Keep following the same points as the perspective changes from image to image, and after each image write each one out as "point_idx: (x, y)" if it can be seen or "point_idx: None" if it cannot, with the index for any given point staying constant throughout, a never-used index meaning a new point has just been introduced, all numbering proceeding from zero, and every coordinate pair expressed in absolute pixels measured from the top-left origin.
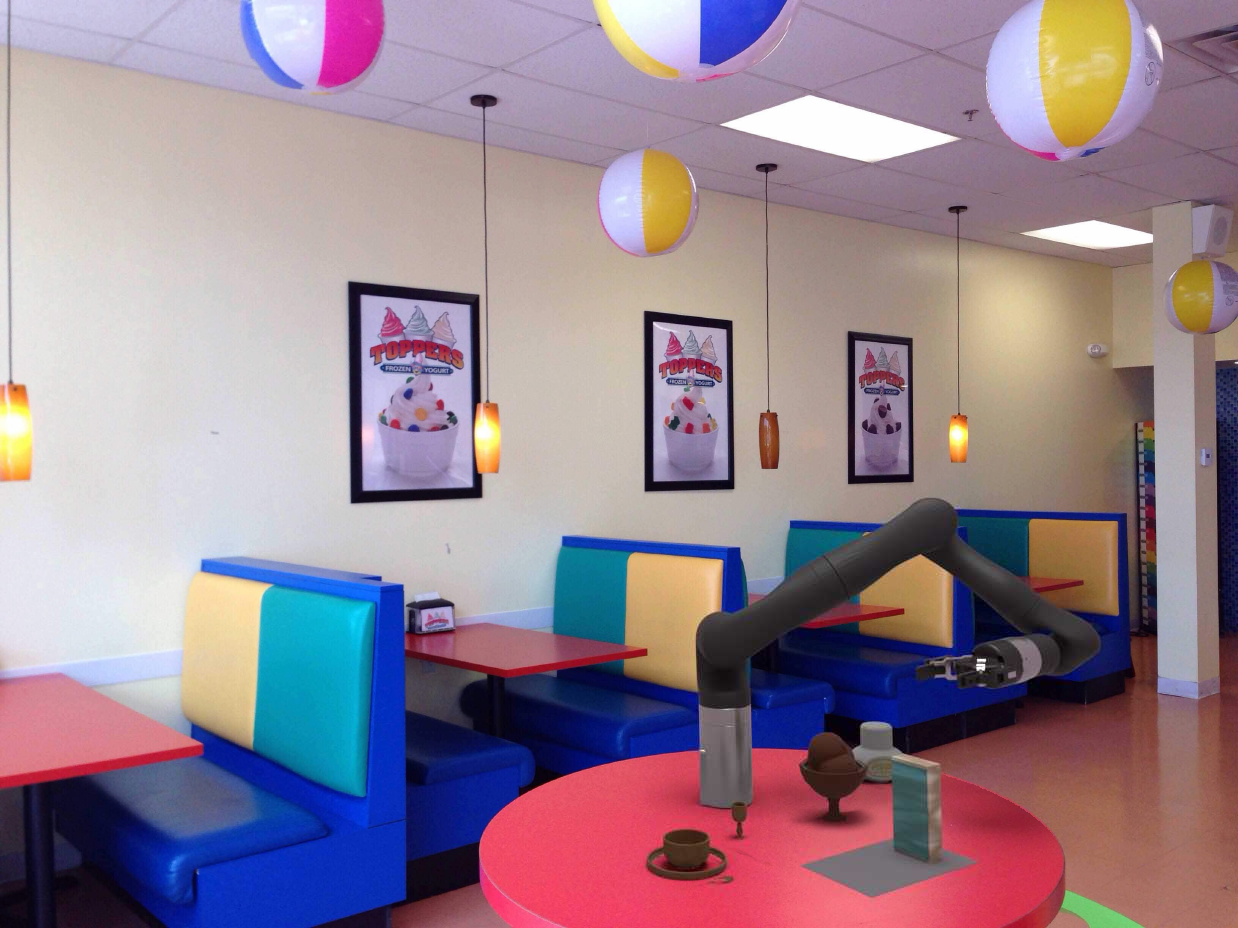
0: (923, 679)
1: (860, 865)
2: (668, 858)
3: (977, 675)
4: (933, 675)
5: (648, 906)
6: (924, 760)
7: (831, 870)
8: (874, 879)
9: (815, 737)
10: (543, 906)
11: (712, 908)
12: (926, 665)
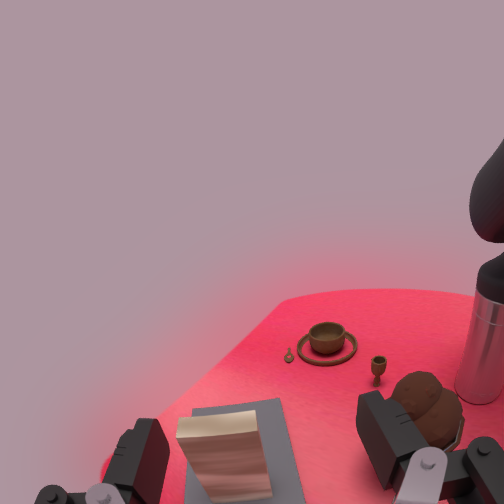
0: (362, 440)
1: None
2: (322, 333)
3: (106, 473)
4: (382, 478)
5: (272, 326)
6: (205, 433)
7: (255, 411)
8: None
9: (419, 371)
10: (296, 300)
11: (251, 345)
12: (385, 424)
